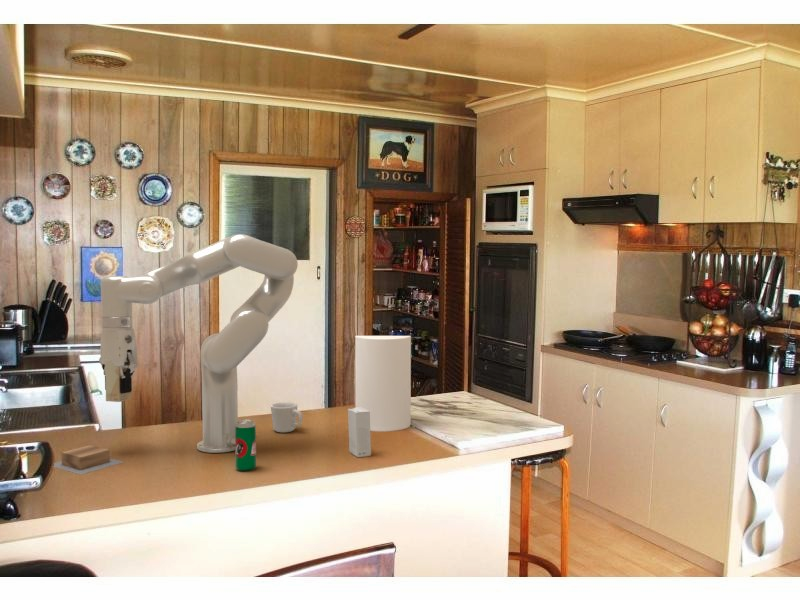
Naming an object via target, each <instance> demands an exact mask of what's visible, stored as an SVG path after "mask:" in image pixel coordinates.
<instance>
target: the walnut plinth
mask: <svg viewBox="0 0 800 600" xmlns="http://www.w3.org/2000/svg"><path fill="white" fill-rule="evenodd" d="M110 452H111V451H110V449H109V448H105V447H100V446H97V445H93V444H90V445H85V446H81V447H77V448H74V449H69V450H65V451H62V452H61V453H60V454H61V461H62V465H64V466H68V467H71V468H75V469H78V470H83V469H87V468H90V467H94V466H98V465H101V464H105V463H108V462H110V455H111V454H110Z"/></svg>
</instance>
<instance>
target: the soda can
mask: <svg viewBox="0 0 800 600" xmlns="http://www.w3.org/2000/svg"><path fill="white" fill-rule="evenodd" d="M236 423H237V424H236V426H235V450H234V452H235V468H236V470H237V471H239V472H250V471H253V470H255V469H256V467H257V425H256V423H255V421H254V420H252V419H241V420H238V421H237V422H236Z"/></svg>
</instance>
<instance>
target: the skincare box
mask: <svg viewBox="0 0 800 600" xmlns="http://www.w3.org/2000/svg"><path fill="white" fill-rule="evenodd" d="M347 420H348V423H347V425H348V447H349V449H348V450H349V453H350V454H352V455H353V456H355V457H356V458H364V457H370V456H371V455H372V441H371V440H372V439H371V436H372V435H371V431H370V411H368V410H366V409H364V408H362V407H357V408H356V407H352V408H351V407H350V408H347Z"/></svg>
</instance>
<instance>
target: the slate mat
mask: <svg viewBox="0 0 800 600" xmlns="http://www.w3.org/2000/svg"><path fill="white" fill-rule="evenodd" d="M53 463H54V466H53V468H57V469H59V470H64V471H66V472H71V473H72V474H77V475H84V474H88V473H91V472H95V471H99V470H101V469H105V468H109V467H112V466H116V465H119V464H123V463H124V461H121V460H118V459H114V458H110V462H108V463H105V464H101V465H98V466H94V467H90V468H87V469H83V470H78V469H75V468H71V467H68V466H64V465H62V460H61V461H57V462H53Z"/></svg>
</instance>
